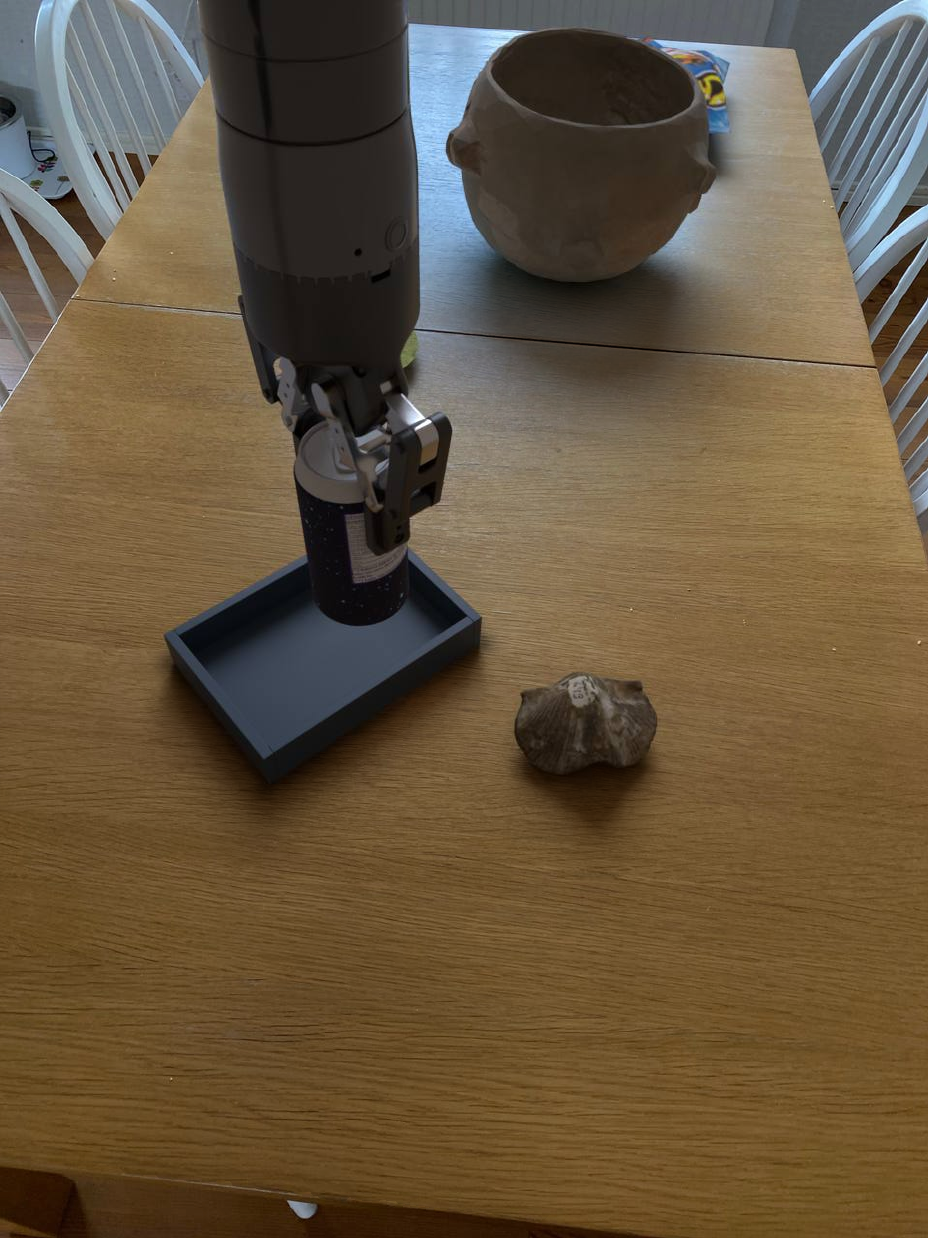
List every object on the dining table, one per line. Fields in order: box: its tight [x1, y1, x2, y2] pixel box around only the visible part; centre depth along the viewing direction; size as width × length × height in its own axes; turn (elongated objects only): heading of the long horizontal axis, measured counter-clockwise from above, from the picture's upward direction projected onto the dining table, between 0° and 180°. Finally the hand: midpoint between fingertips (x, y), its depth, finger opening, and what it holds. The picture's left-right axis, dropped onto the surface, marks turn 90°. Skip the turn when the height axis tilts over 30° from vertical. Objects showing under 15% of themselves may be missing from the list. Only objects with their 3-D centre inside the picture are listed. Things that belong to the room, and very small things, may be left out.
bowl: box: [445, 26, 717, 283], centre depth 103 cm, size 27×29×20 cm
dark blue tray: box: [163, 547, 483, 785], centre depth 74 cm, size 20×14×4 cm
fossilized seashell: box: [513, 670, 658, 776], centre depth 69 cm, size 8×7×10 cm
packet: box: [637, 35, 731, 135], centre depth 128 cm, size 17×24×8 cm
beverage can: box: [292, 420, 409, 626], centre depth 53 cm, size 6×6×12 cm
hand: (353, 510), depth 52 cm, fingers closed on beverage can, 5 cm apart
